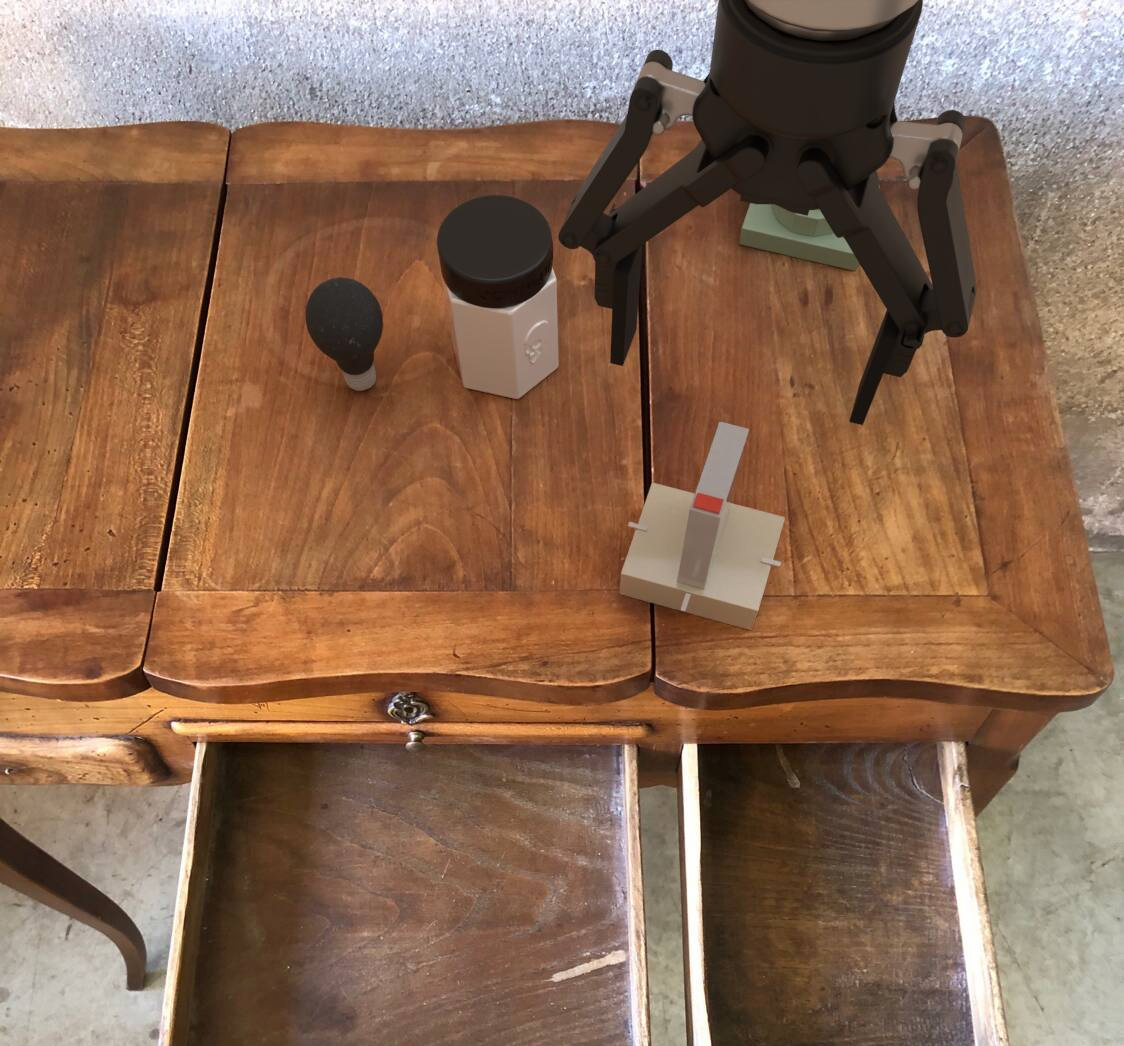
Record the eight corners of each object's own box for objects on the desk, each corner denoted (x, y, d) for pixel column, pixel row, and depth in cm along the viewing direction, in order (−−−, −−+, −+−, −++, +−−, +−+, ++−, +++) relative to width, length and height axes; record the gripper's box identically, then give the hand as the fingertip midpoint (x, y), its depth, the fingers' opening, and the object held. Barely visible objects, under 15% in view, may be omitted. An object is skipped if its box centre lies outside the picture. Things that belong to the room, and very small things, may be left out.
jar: (499, 419, 82) (487, 304, 71) (430, 359, 84) (407, 240, 73) (580, 354, 84) (580, 233, 73) (511, 298, 87) (501, 172, 75)
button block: (875, 202, 90) (886, 166, 86) (855, 271, 87) (866, 237, 84) (761, 177, 91) (768, 141, 88) (738, 244, 88) (744, 209, 85)
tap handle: (703, 500, 76) (719, 418, 67) (730, 508, 76) (750, 426, 67) (676, 581, 74) (689, 507, 65) (704, 589, 73) (721, 515, 65)
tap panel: (790, 523, 79) (799, 499, 76) (754, 652, 75) (761, 632, 72) (647, 486, 80) (650, 461, 77) (604, 610, 76) (605, 589, 73)
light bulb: (313, 386, 84) (280, 291, 74) (364, 345, 85) (338, 246, 76) (361, 425, 82) (333, 334, 73) (412, 383, 84) (391, 287, 74)
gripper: (469, -22, 39) (506, 373, 58) (1159, 118, 36) (951, 485, 55) (533, -146, 41) (548, 274, 61) (1183, -25, 38) (976, 375, 58)
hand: (740, 375), depth 58 cm, fingers open, 13 cm apart
